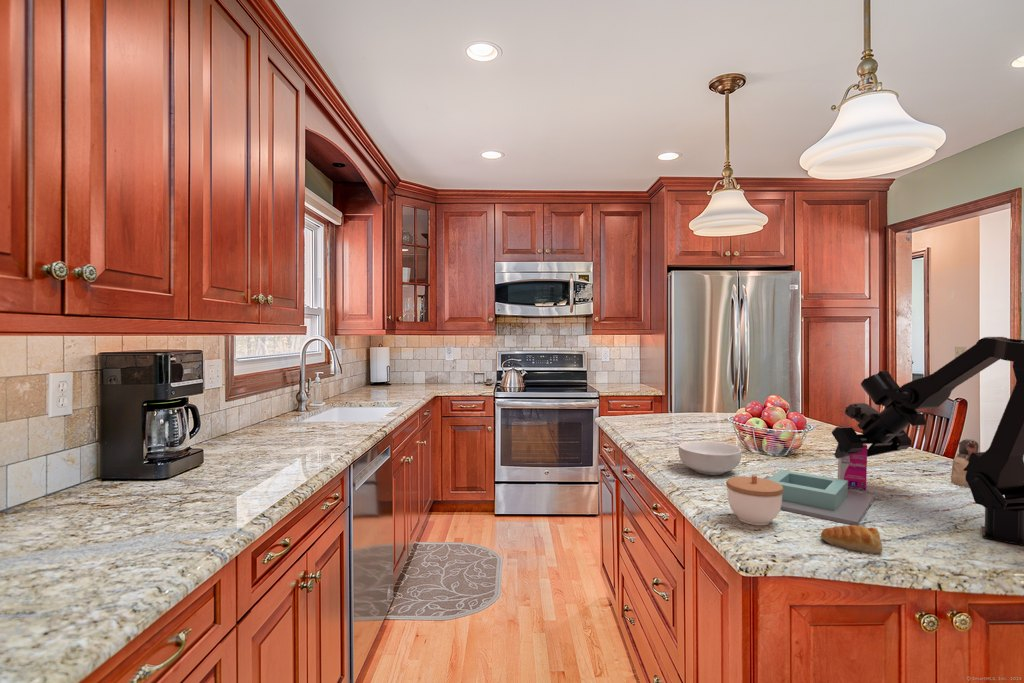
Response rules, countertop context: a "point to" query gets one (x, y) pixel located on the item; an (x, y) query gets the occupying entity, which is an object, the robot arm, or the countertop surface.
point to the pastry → (854, 538)
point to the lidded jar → (754, 499)
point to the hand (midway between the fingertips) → (850, 456)
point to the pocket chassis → (821, 497)
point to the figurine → (963, 461)
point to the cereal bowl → (710, 456)
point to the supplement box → (854, 469)
